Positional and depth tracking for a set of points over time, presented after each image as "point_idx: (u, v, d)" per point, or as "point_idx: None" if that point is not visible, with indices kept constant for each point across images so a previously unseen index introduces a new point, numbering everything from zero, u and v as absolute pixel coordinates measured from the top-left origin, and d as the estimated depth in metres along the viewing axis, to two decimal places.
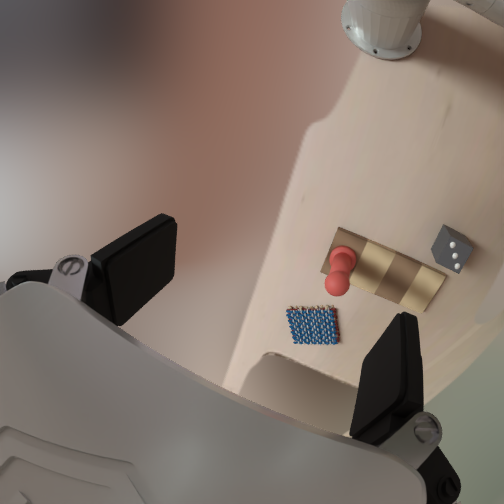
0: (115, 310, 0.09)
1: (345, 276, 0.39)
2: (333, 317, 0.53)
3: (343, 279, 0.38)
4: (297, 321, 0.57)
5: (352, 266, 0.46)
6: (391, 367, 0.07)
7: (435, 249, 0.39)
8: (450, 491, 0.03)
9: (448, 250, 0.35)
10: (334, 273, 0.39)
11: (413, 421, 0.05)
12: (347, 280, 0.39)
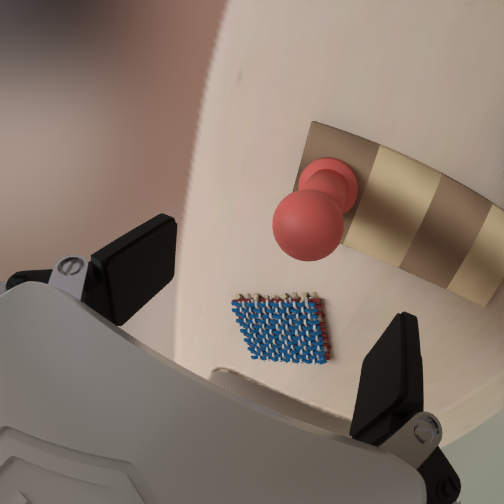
0: (115, 310, 0.09)
1: (329, 200, 0.13)
2: (316, 316, 0.28)
3: (322, 207, 0.13)
4: (252, 322, 0.32)
5: (350, 202, 0.20)
6: (391, 367, 0.07)
7: None
8: (450, 491, 0.03)
9: None
10: (296, 193, 0.14)
11: (413, 421, 0.05)
12: (335, 211, 0.13)
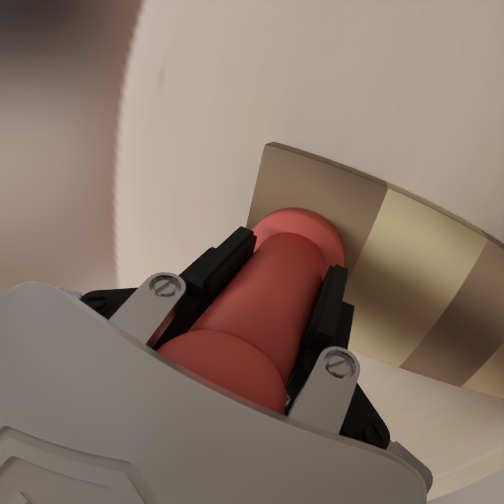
0: None
1: (243, 384, 0.05)
2: None
3: None
4: None
5: None
6: (315, 309, 0.09)
7: None
8: (372, 438, 0.05)
9: None
10: (171, 354, 0.06)
11: (324, 352, 0.07)
12: None
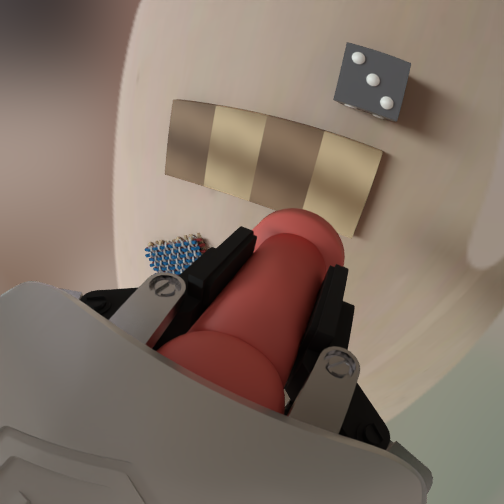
0: None
1: (242, 385, 0.05)
2: (199, 253, 0.34)
3: None
4: (159, 264, 0.38)
5: None
6: (314, 309, 0.09)
7: None
8: (372, 438, 0.05)
9: (353, 70, 0.16)
10: (171, 355, 0.06)
11: (324, 352, 0.07)
12: None
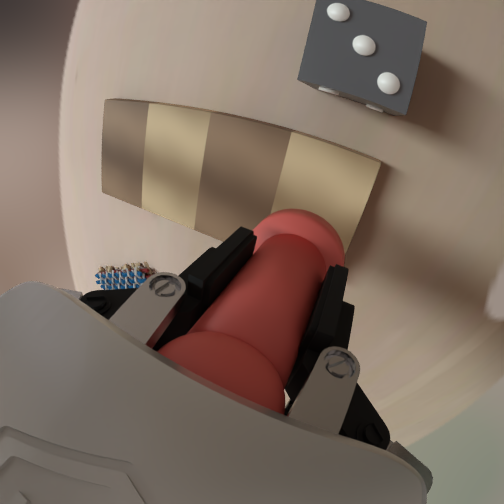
0: None
1: (242, 386, 0.05)
2: None
3: None
4: None
5: None
6: (314, 309, 0.09)
7: None
8: (372, 438, 0.05)
9: (329, 32, 0.09)
10: (171, 356, 0.06)
11: (324, 352, 0.07)
12: None
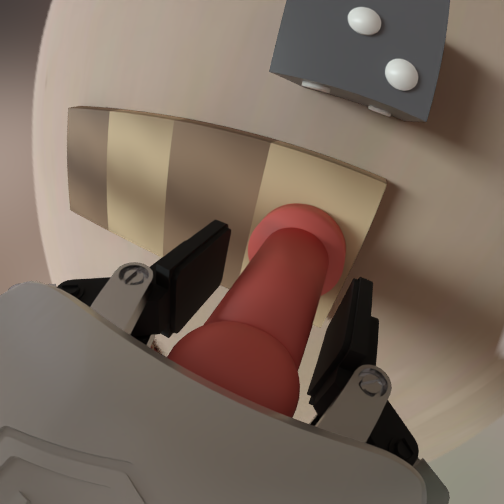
0: (175, 318, 0.09)
1: (263, 369, 0.06)
2: None
3: (241, 396, 0.05)
4: None
5: (332, 280, 0.13)
6: (342, 325, 0.08)
7: None
8: (403, 453, 0.05)
9: (314, 4, 0.06)
10: (195, 345, 0.06)
11: (357, 372, 0.06)
12: (276, 394, 0.06)
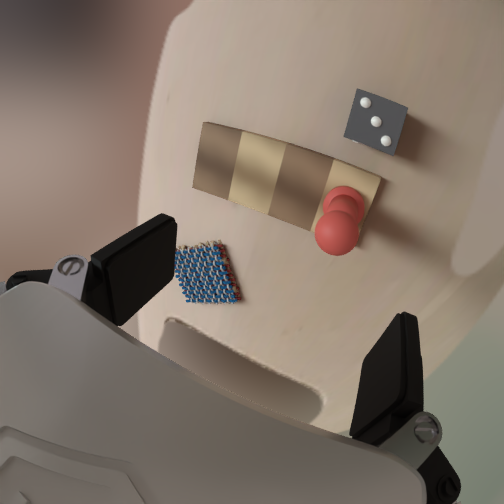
0: (115, 310, 0.09)
1: (351, 218, 0.22)
2: (220, 257, 0.39)
3: (348, 222, 0.21)
4: (181, 267, 0.43)
5: (359, 218, 0.28)
6: (391, 367, 0.07)
7: None
8: (450, 491, 0.03)
9: (360, 113, 0.22)
10: (331, 212, 0.22)
11: (413, 421, 0.05)
12: (355, 224, 0.21)
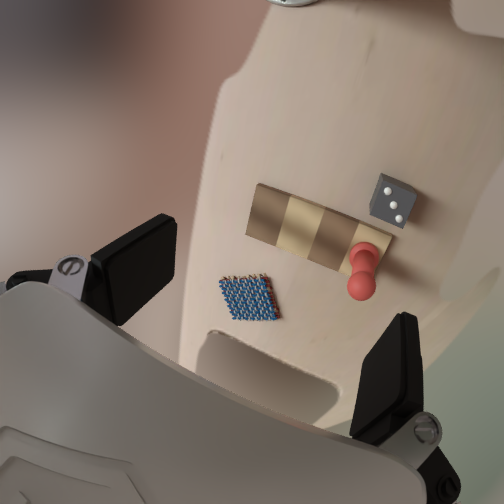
0: (115, 310, 0.09)
1: (371, 278, 0.33)
2: (266, 287, 0.50)
3: (369, 281, 0.32)
4: (231, 293, 0.54)
5: (374, 265, 0.39)
6: (391, 367, 0.07)
7: (371, 201, 0.36)
8: (450, 491, 0.03)
9: (383, 198, 0.32)
10: (359, 274, 0.33)
11: (413, 421, 0.05)
12: (373, 282, 0.32)
